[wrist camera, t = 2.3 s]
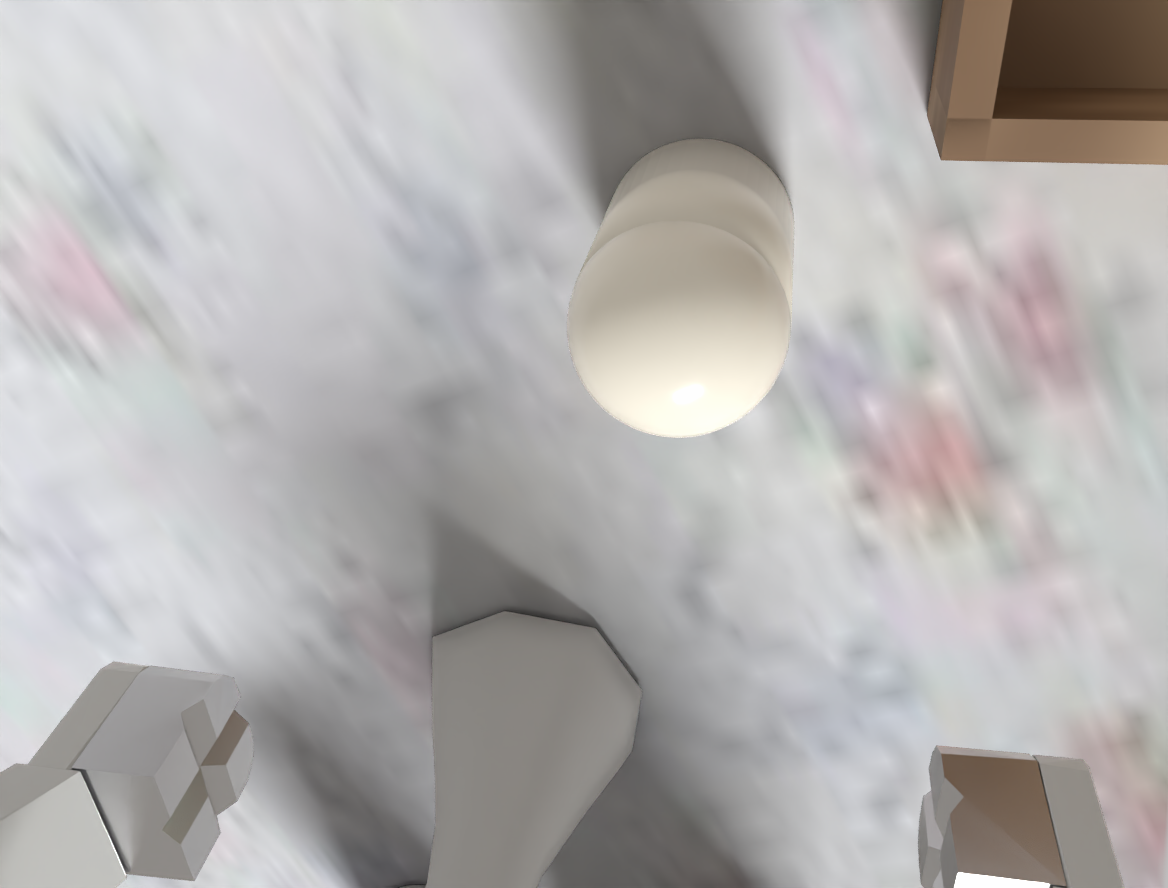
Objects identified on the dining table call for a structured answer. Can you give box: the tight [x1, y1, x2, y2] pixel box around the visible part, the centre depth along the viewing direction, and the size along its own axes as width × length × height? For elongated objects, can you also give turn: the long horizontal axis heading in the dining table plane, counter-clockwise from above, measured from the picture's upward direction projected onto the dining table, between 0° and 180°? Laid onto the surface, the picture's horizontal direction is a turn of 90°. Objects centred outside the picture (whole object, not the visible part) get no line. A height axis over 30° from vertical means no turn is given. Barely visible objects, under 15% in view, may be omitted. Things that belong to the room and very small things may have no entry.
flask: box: [425, 611, 642, 888], centre depth 31 cm, size 7×7×10 cm
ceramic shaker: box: [567, 138, 794, 438], centre depth 22 cm, size 4×4×7 cm
